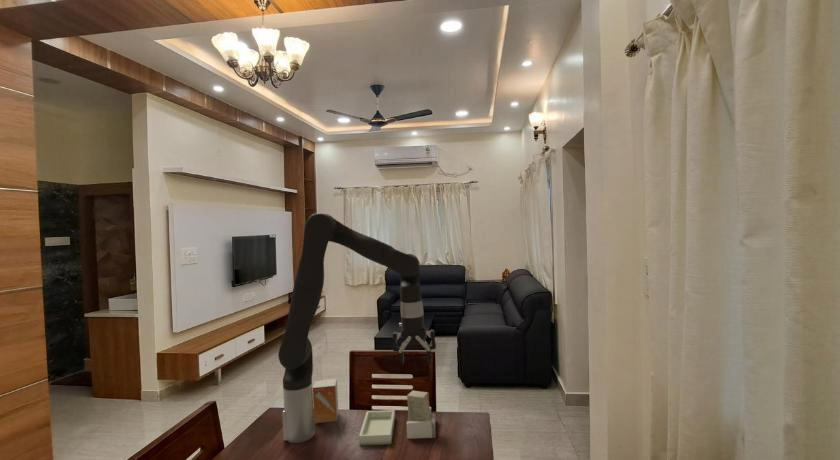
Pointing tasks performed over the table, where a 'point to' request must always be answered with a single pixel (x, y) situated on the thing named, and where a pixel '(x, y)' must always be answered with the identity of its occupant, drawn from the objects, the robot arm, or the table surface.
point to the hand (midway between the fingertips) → (415, 362)
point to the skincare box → (418, 406)
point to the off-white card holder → (421, 428)
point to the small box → (325, 401)
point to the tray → (377, 428)
